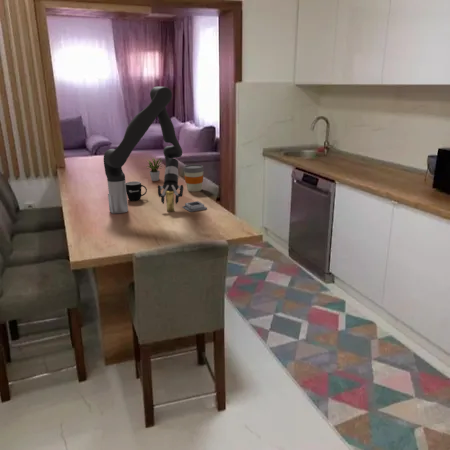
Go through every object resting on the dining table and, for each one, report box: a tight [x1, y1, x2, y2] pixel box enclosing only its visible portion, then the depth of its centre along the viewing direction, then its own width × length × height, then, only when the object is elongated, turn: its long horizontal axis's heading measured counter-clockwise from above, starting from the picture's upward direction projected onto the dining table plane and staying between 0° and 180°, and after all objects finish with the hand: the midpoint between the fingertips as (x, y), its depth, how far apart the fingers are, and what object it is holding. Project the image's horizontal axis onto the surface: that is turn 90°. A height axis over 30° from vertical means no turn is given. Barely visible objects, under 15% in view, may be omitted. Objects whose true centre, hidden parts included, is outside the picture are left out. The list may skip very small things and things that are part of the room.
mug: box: [126, 180, 148, 202], centre depth 256 cm, size 12×9×10 cm
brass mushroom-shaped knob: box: [165, 190, 175, 213], centre depth 233 cm, size 5×5×11 cm
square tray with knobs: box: [182, 200, 208, 213], centre depth 237 cm, size 10×10×3 cm
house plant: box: [145, 157, 163, 182], centre depth 303 cm, size 14×14×16 cm
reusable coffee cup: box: [183, 164, 205, 192], centre depth 275 cm, size 13×13×15 cm
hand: (169, 202), depth 231 cm, fingers open, 6 cm apart
